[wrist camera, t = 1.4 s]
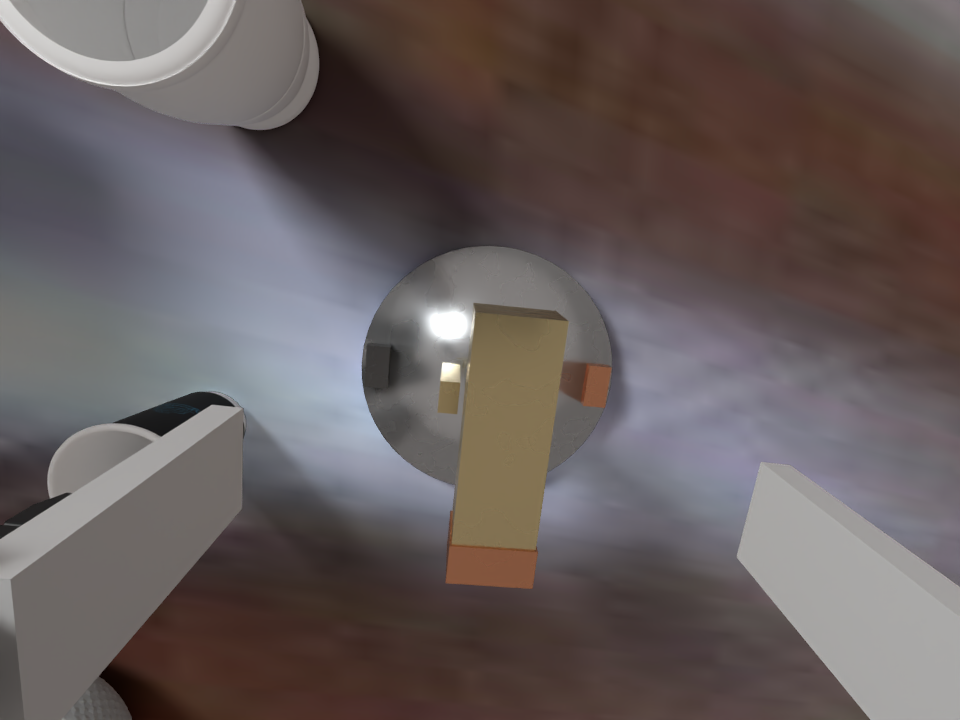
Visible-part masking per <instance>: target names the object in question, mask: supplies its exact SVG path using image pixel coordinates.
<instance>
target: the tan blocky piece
mask: <svg viewBox="0 0 960 720" xmlns="http://www.w3.org/2000/svg"><path fill="white" fill-rule="evenodd" d="M568 324H569V321H568V320H567V319H565V318H564V317H563V316H562V315H561V314H559V313H558V312H557V311H552V310H542V309H532V308H522V307H512V306H502V305H491V304H481V303H473V313H472V323H471V333H470V343H469V353H468V363H467V372H466V382H465V392H464V402H463V412H462V422H461V432H460V442H459V452H458V461H457V471H456V481H455V491H454V501H453V511H450V521H449V531H448V541H447V561H446V583H450V584H466V585H481V586H496V587H512V588H527V589H532V588H533V582H534V575H535V568H536V561H537V554H538V551H537V547H536V544H537V537H538V530H539V523H540V516H541V509H542V502H543V496H544V489H545V482H546V475H547V468H548V461H549V454H550V448H551V441H552V434H553V427H554V420H555V413H556V406H557V400H558V393H559V386H560V379H561V372H562V365H563V358H564V352H565V345H566V338H567V331H568ZM459 392H460V364H451V363H443V364H442V372H441V379H440V390H439V401H438V412H437V413H448V414H457V412H458V402H459Z"/></svg>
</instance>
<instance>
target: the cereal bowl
mask: <svg viewBox="0 0 960 720" xmlns="http://www.w3.org/2000/svg"><path fill="white" fill-rule="evenodd" d="M61 720H132V717H131V715H130V713H129V711H128V708H127V706H126V705H125V703H124V701H123V700H122V698H121V697H120V696H119V694H117V692H116V691H115V690H114V689H113V687H111V686H110V685H109V684H108V683H107V682H105V680H104V679H102V678H100V677H99V676H98V677H97V679H96V680H95V681H94V682H93V683H92V684H91V686H90V687H89V688H88V689H87V690H86V691H85V693H84V694H83V695H82V696H81V697H80V698H79V700H78V701H77V702H76V703H75V704H74V705H73V707H72V708H71V709H70V710H69V711H68V712H67V714H66V715H65V716H64V717H63V718H62V719H61Z"/></svg>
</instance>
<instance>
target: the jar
mask: <svg viewBox="0 0 960 720" xmlns="http://www.w3.org/2000/svg"><path fill="white" fill-rule="evenodd" d="M0 21H1V22H2V23H3V24H4V25H5V27H6V28H7V29H8V30H9V31H10V32H11V33H12V34H13V35H14V36H15V37H16V38H17V39H18V40H19V41H20V42H21V43H22V44H23V45H24V46H26V47H27V48H28V49H29V50H30V51H32V52H33V53H34V54H36V55H37V56H38V57H40V58H41V59H43V60H44V61H46V62H47V63H49V64H51V65H52V66H54V67H56V68H57V69H59V70H61V71H62V72H64V73H66V74H68V75H70V76H72V77H74V78H76V79H79V80H81V81H83V82H86V83H89V84H92V85H95V86H98V87H102V88H106V89H111V90H115V91H117V92H119V93H120V94H122V95H124V96H125V97H127V98H129V99H131V100H133V101H135V102H136V103H138V104H140V105H143V106H145V107H147V108H149V109H151V110H154V111H156V112H159V113H161V114H164V115H167V116H170V117H173V118H177V119H180V120H185V121H189V122H195V123H202V124H219V125H228V126H239V127H242V128H246V129H252V130H267V129H273V128H276V127H279V126H282V125H284V124H286V123H288V122H290V121H291V120H293V119H294V118H295V117H297V116H298V115H299V114H300V113H301V112H302V111H303V109H304V108H305V107H306V106H307V104H308V103H309V101H310V99H311V97H312V95H313V93H314V90H315V88H316V84H317V80H318V75H319V53H318V47H317V42H316V39H315V36H314V33H313V30H312V28H311V26H310V24H309V22H308V20H307V18H306V16H305V12H304V8H303V5H302V2H301V0H0Z"/></svg>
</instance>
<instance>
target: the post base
mask: <svg viewBox="0 0 960 720" xmlns="http://www.w3.org/2000/svg"><path fill="white" fill-rule="evenodd" d="M473 303H481V304H491V305H502V306H512V307H522V308H532V309H542V310H552V311H557V312H558V313H559V314H561V315H562V316H563V317H564V318H565V319H567V320H568V321H569V324H568V331H567V338H566V345H565V352H564V358H563V365H562V372H561V379H560V386H559V393H558V400H557V406H556V413H555V420H554V427H553V434H552V441H551V448H550V454H549V461H548V468H547V472H549V471H551V470H552V469H554V468H555V467H557V466H559V465H560V464H562V463H563V462H564V461H565V460H567V459H568V458H569V457H570V456H571V455H572V454H574V453H575V452H576V451H577V450H578V448H579V447H580V446H581V445H582V444H583V443H584V442H585V441H586V439H587V438H588V437H589V435H590V434H591V432H592V431H593V430H594V428H595V426H596V424H597V422H598V420H599V419H600V417H601V415H602V412H603V410H604V408H605V405H606V402H607V398H608V394H609V390H610V386H611V377H612V353H611V347H610V341H609V337H608V333H607V330H606V327H605V324H604V321H603V319H602V317H601V315H600V313H599V311H598V309H597V307H596V306H595V304H594V303H593V301H592V299H591V298H590V296H589V295H588V294H587V293H586V291H585V290H584V289H583V288H582V287H581V286H580V285H579V283H578V282H577V281H575V280H574V279H573V278H572V277H571V276H570V275H569V274H567V273H566V272H565V271H564V270H562V269H561V268H559V267H557V266H556V265H554V264H553V263H551V262H549V261H547V260H545V259H543V258H541V257H539V256H537V255H534V254H531V253H528V252H525V251H522V250H518V249H514V248H508V247H502V246H474V247H466V248H462V249H457V250H453V251H450V252H447V253H444V254H442V255H439V256H436V257H434V258H432V259H431V260H429V261H427V262H425V263H423V264H421V265H420V266H419V267H417V268H416V269H414V270H413V271H412V272H410V273H409V274H408V275H406V276H405V277H404V278H403V279H402V280H401V281H400V282H399V283H398V284H397V285H396V286H395V287H394V288H393V289H392V290H391V292H390V293H389V294H388V295H387V297H386V298H385V299H384V300H383V302H382V304H381V305H380V307H379V309H378V310H377V312H376V314H375V315H374V318H373V320H372V323H371V325H370V327H369V330H368V333H367V337H366V340H365V344H364V349H363V358H362V381H363V388H364V394H365V398H366V401H367V404H368V408H369V411H370V413H371V415H372V417H373V420H374V422H375V424H376V426H377V427H378V429H379V430H380V432H381V434H382V435H383V437H384V438H385V439H386V441H387V442H388V443H389V444H390V445H391V447H392V448H393V449H394V450H395V451H396V452H397V453H398V454H399V455H400V456H401V457H402V458H403V459H405V460H406V461H407V462H409V463H410V464H411V465H413V466H414V467H415V468H417V469H418V470H420V471H422V472H424V473H426V474H428V475H429V476H431V477H434V478H436V479H439V480H441V481H444V482H447V483H451V484H455V481H456V471H457V461H458V452H459V442H460V432H461V422H462V412H463V402H464V392H465V382H466V372H467V363H468V353H469V343H470V333H471V323H472V313H473ZM443 363H451V364H460V392H459V402H458V412H457V414H448V413H437V412H438V401H439V390H440V379H441V372H442V364H443Z"/></svg>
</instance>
